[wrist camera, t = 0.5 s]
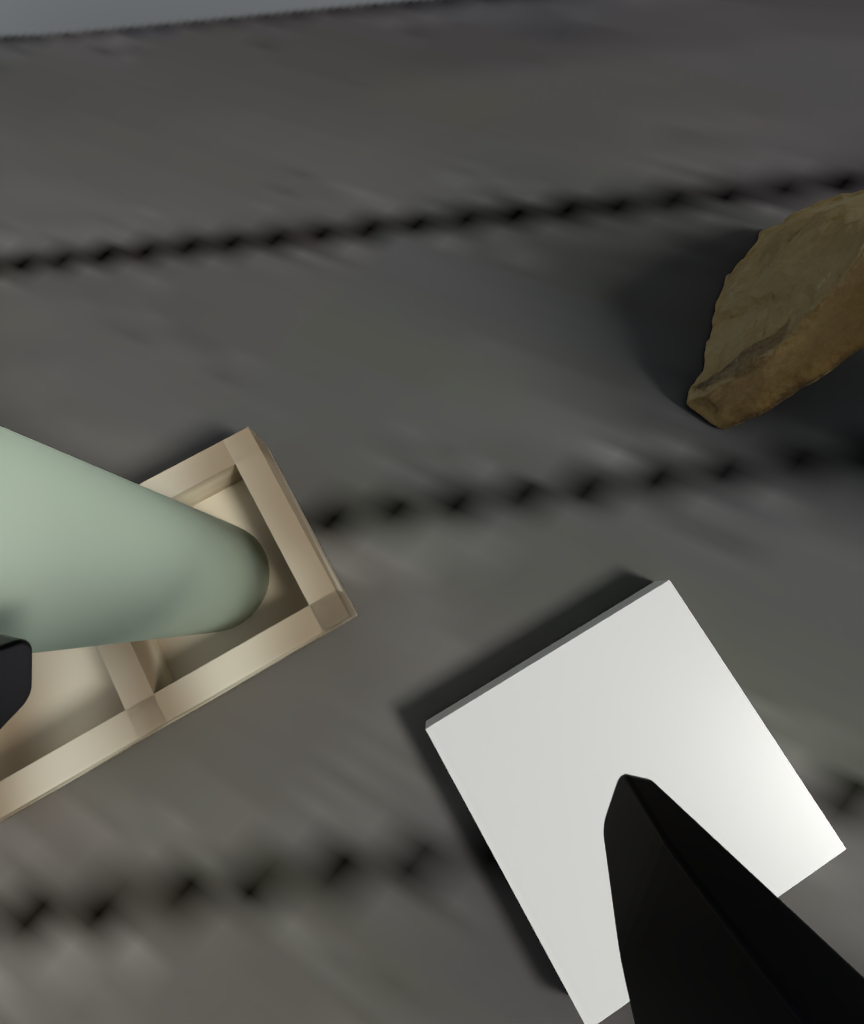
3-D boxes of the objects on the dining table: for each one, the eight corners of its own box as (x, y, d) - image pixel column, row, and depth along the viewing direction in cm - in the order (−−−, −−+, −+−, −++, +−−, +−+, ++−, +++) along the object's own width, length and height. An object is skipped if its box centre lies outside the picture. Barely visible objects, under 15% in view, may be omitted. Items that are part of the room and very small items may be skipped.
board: (576, 999, 20) (588, 1030, 19) (425, 720, 22) (425, 729, 20) (817, 832, 21) (846, 849, 20) (654, 581, 23) (669, 579, 22)
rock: (766, 482, 22) (980, 364, 21) (786, 303, 16) (1083, 134, 15) (619, 376, 30) (773, 288, 29) (596, 229, 24) (788, 115, 23)
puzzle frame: (-10, 828, 21) (-68, 857, 19) (-85, 632, 23) (-148, 634, 20) (358, 615, 23) (349, 616, 20) (266, 445, 24) (248, 427, 22)
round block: (188, 653, 22) (-220, 730, 8) (143, 557, 23) (-300, 478, 9) (288, 596, 22) (61, 579, 9) (240, 504, 23) (-38, 352, 9)
